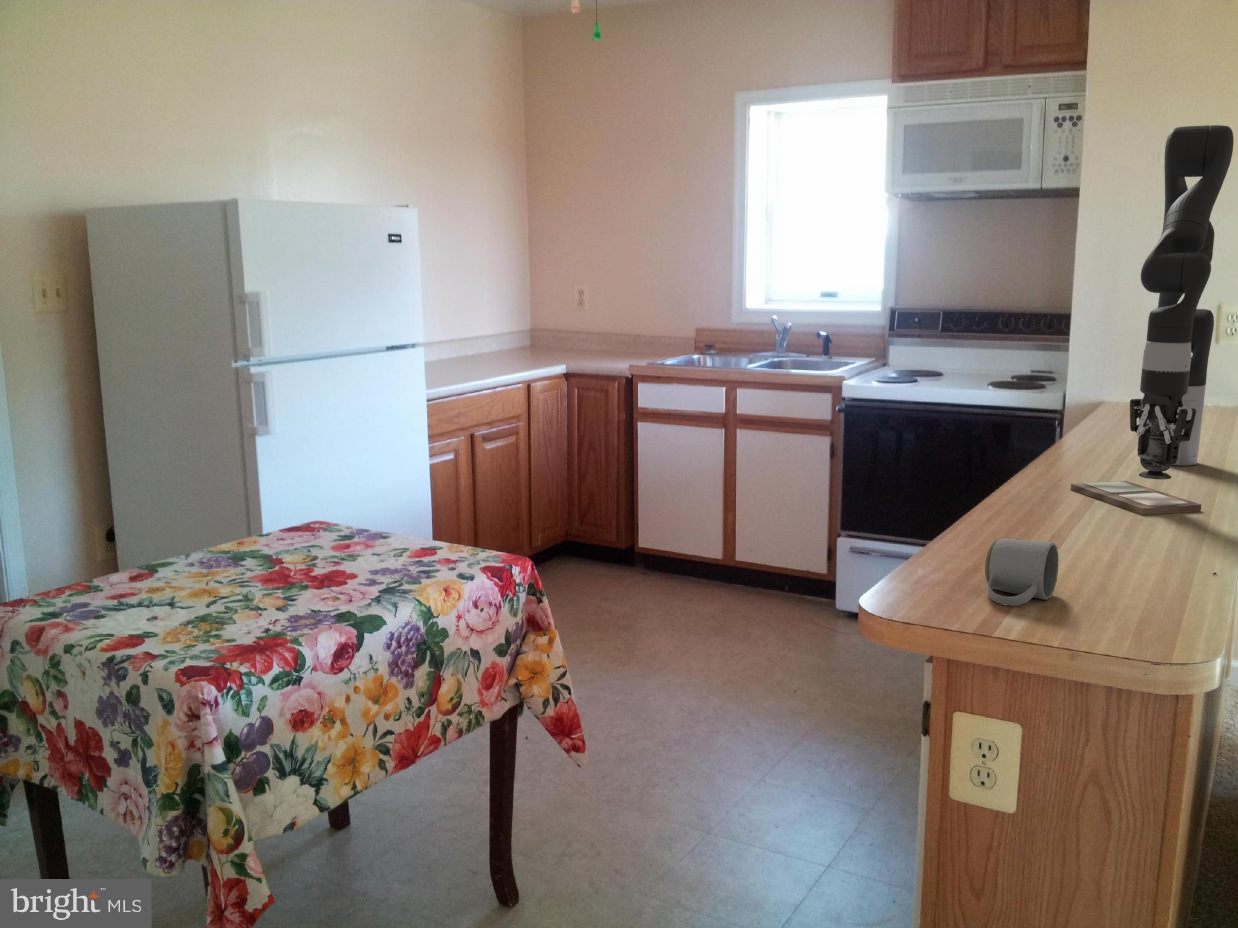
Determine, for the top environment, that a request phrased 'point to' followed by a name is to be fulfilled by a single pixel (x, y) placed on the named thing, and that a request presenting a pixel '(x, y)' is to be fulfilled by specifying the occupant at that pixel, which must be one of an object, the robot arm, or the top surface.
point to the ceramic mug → (1021, 570)
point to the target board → (1135, 497)
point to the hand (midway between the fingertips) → (1156, 460)
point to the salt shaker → (1155, 454)
